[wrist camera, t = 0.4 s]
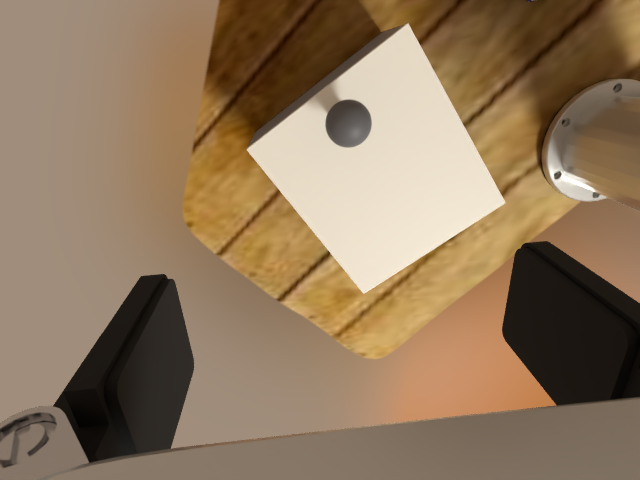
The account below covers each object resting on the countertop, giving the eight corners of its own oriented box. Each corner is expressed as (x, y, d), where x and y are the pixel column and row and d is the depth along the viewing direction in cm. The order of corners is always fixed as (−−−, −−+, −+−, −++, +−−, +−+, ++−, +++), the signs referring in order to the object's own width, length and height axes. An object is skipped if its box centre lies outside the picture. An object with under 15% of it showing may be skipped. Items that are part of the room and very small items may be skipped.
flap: (405, 24, 29) (432, 15, 23) (501, 200, 35) (540, 225, 29) (247, 147, 31) (238, 165, 26) (362, 289, 38) (374, 327, 32)
